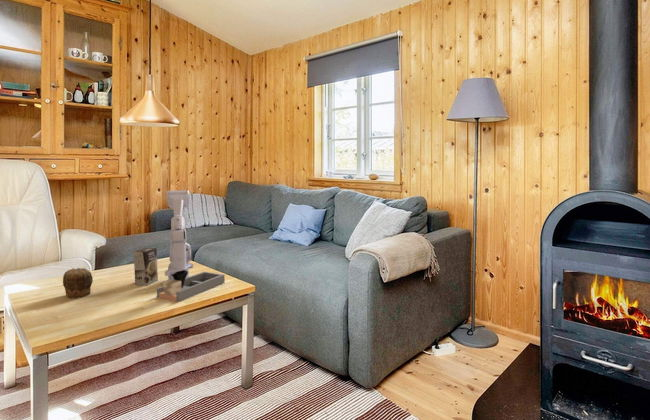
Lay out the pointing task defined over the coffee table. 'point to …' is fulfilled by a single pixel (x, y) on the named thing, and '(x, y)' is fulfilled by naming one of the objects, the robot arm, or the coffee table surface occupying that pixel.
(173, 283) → the cream block
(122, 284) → the coffee table surface
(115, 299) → the coffee table surface
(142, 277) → the coffee box
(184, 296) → the tray
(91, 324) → the coffee table surface
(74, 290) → the dark brown rounded lump
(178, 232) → the robot arm
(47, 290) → the coffee table surface
